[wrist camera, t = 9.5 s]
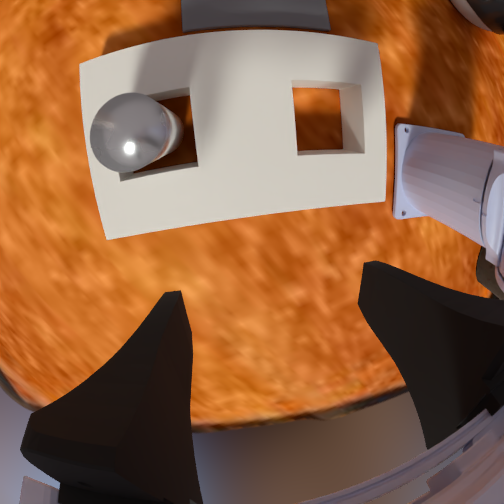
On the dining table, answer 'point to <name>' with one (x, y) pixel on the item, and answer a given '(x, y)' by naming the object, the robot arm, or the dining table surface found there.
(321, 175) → the hole block
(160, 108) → the peg
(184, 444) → the robot arm
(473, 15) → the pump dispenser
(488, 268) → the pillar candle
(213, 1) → the mat
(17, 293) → the dining table surface
